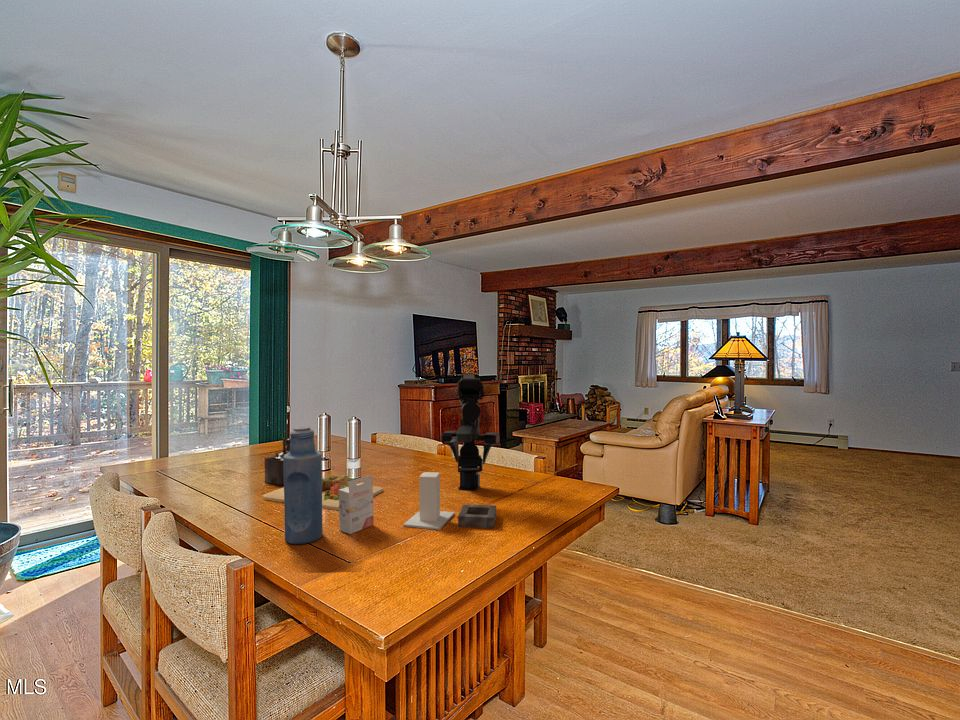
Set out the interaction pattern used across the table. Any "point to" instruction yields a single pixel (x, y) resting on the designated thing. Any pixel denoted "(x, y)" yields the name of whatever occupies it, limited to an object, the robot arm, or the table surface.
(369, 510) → the ink cartridge box
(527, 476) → the table surface
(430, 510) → the off-white block
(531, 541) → the table surface
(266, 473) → the black box
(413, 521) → the rubber mat
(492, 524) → the block
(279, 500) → the cutting board
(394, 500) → the table surface
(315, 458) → the bottle
